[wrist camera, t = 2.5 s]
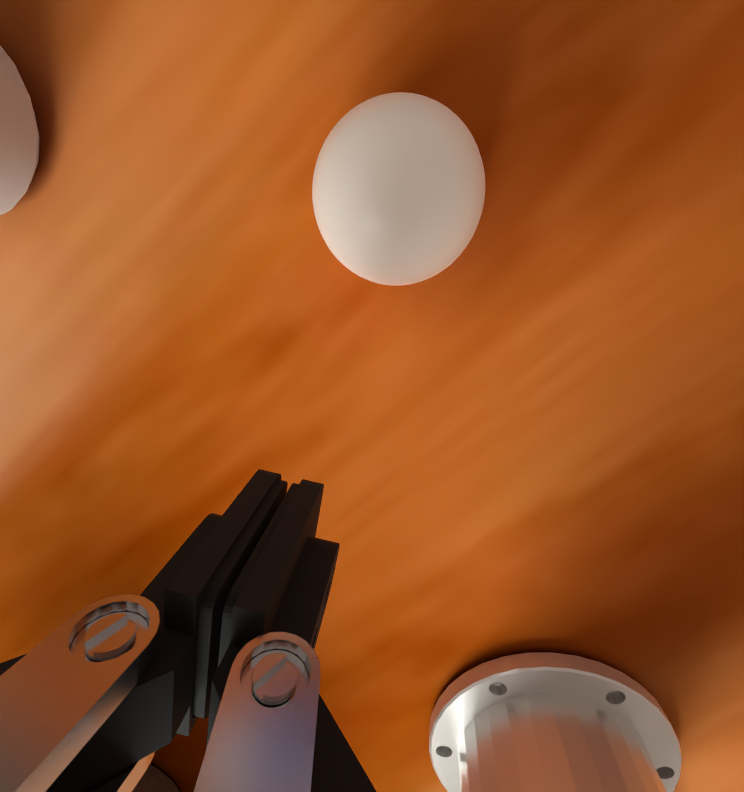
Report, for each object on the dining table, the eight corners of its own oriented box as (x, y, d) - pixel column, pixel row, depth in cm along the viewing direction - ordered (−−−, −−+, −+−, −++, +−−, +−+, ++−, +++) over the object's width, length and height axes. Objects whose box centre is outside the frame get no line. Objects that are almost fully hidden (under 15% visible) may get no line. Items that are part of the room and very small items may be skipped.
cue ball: (501, 230, 15) (539, 206, 10) (382, 310, 17) (363, 325, 12) (425, 95, 15) (425, -7, 9) (306, 192, 16) (247, 151, 11)
